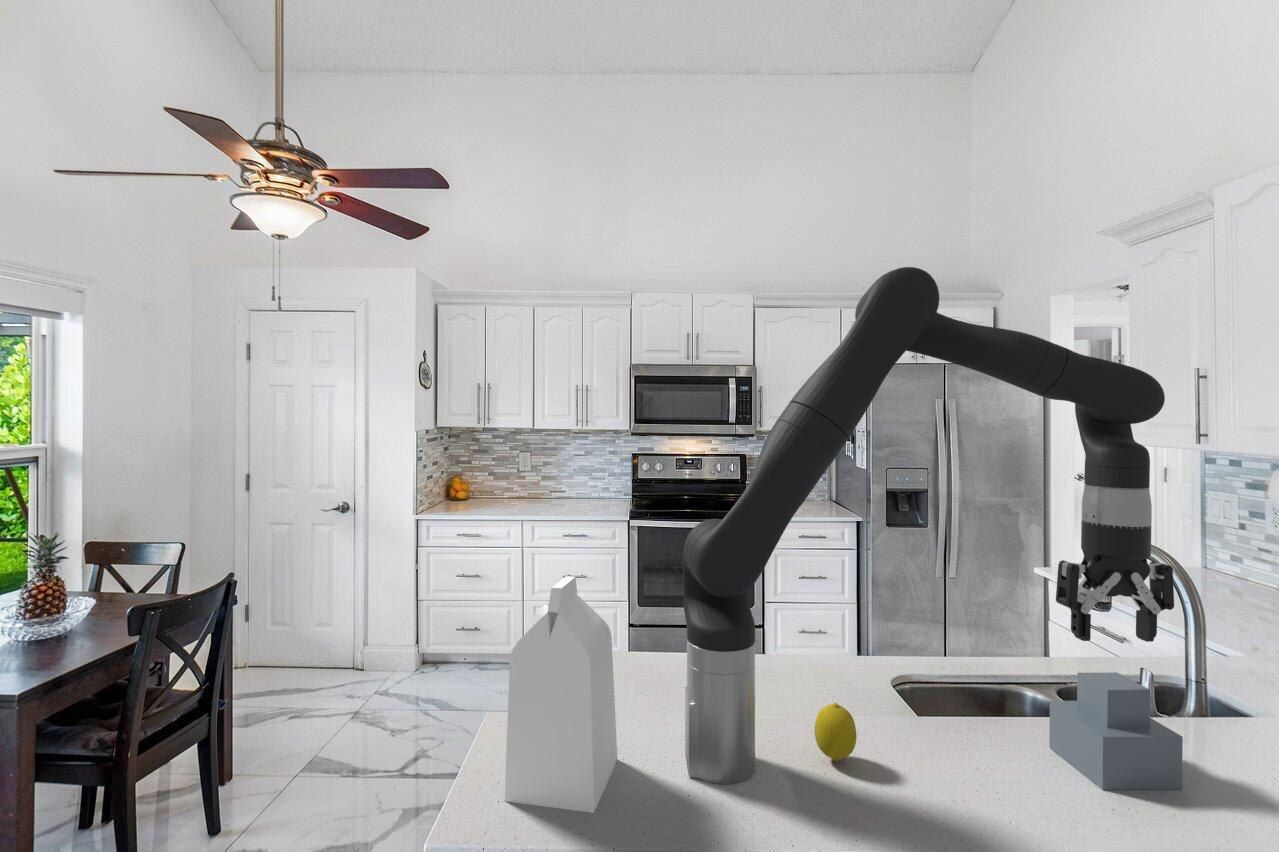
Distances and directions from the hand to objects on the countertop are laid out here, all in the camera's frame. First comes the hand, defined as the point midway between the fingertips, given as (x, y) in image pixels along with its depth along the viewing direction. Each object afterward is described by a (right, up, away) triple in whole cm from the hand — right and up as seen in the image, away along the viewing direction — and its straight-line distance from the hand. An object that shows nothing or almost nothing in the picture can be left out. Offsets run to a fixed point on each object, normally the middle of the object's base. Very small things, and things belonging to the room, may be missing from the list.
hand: (1113, 639), depth 85 cm
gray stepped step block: (0, -18, 0) cm, 18 cm away
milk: (-74, -18, -2) cm, 76 cm away
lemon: (-37, -18, +2) cm, 41 cm away
